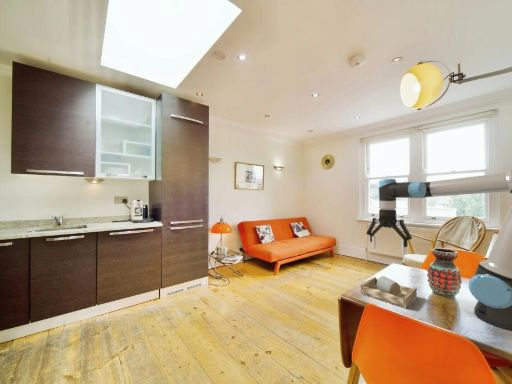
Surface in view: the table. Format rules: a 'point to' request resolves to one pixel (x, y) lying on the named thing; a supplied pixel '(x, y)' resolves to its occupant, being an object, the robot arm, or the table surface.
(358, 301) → the table surface
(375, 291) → the crate
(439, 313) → the table surface
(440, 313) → the table surface
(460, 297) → the table surface
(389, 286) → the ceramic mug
